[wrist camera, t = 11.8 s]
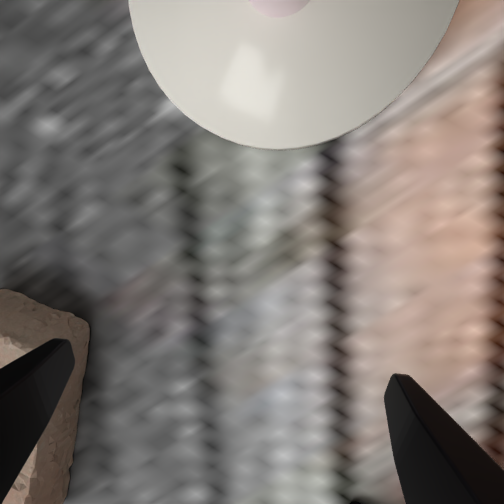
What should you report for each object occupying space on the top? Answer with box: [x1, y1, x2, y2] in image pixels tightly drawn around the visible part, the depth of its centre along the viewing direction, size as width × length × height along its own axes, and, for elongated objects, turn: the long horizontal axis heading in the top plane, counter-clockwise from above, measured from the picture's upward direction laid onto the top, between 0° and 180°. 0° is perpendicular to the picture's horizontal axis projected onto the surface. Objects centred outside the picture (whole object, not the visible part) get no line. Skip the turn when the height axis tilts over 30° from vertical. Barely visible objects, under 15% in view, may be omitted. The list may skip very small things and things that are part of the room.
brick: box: [0, 289, 90, 504], centre depth 23 cm, size 17×8×5 cm, turn 166°
